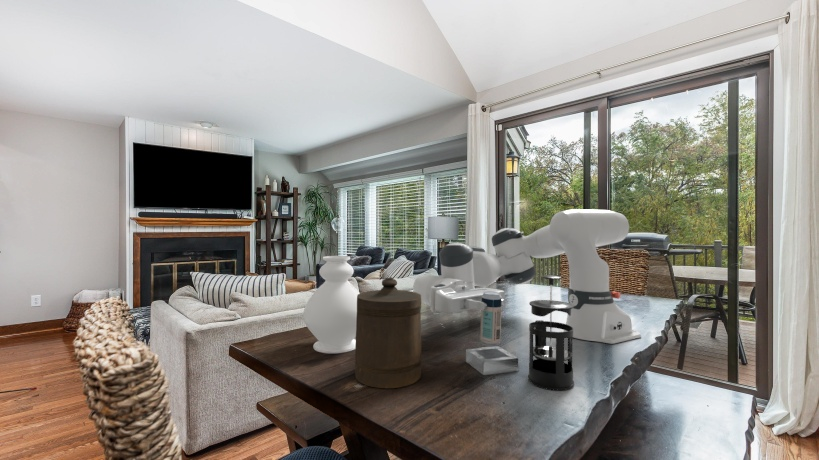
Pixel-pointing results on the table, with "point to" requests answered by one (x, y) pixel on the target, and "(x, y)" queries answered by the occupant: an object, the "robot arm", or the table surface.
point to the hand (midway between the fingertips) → (494, 304)
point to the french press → (549, 359)
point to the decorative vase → (333, 308)
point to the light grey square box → (491, 360)
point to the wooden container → (388, 337)
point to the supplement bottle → (491, 318)
